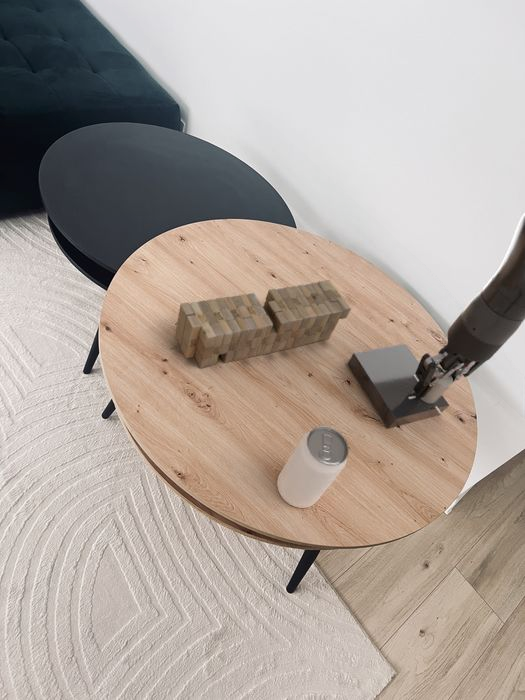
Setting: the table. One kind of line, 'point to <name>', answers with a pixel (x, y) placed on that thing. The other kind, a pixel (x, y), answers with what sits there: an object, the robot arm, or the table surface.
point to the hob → (393, 385)
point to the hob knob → (438, 389)
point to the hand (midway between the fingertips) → (428, 390)
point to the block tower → (259, 322)
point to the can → (312, 466)
